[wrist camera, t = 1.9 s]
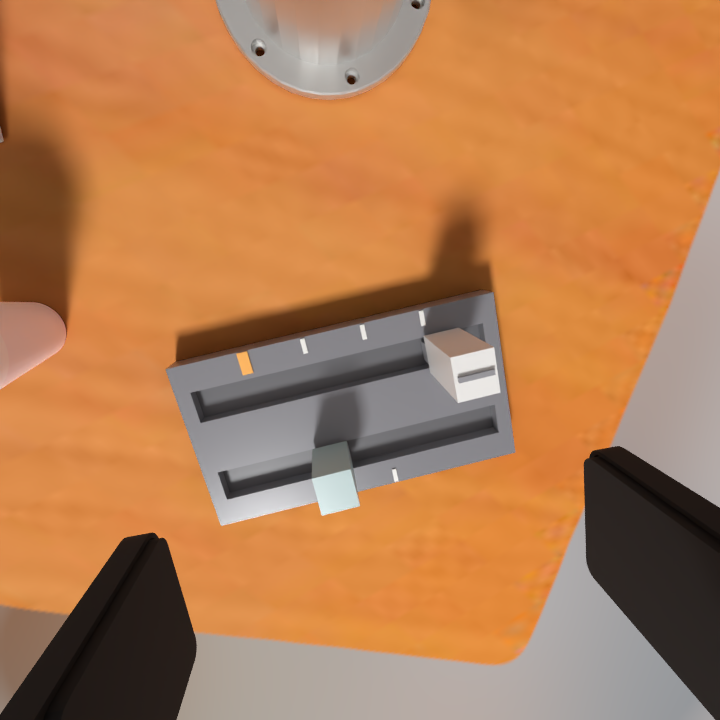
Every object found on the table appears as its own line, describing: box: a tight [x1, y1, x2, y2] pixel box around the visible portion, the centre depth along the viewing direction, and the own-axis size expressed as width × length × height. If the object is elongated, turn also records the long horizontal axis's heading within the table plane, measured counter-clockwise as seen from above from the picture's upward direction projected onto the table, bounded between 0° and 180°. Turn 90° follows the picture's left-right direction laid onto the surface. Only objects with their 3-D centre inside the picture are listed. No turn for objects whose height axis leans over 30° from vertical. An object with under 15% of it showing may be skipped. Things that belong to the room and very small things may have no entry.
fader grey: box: [421, 328, 501, 403], centre depth 26 cm, size 2×3×7 cm
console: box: [166, 290, 515, 526], centre depth 31 cm, size 22×12×2 cm, turn 102°
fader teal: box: [312, 441, 360, 515], centre depth 29 cm, size 2×3×5 cm
